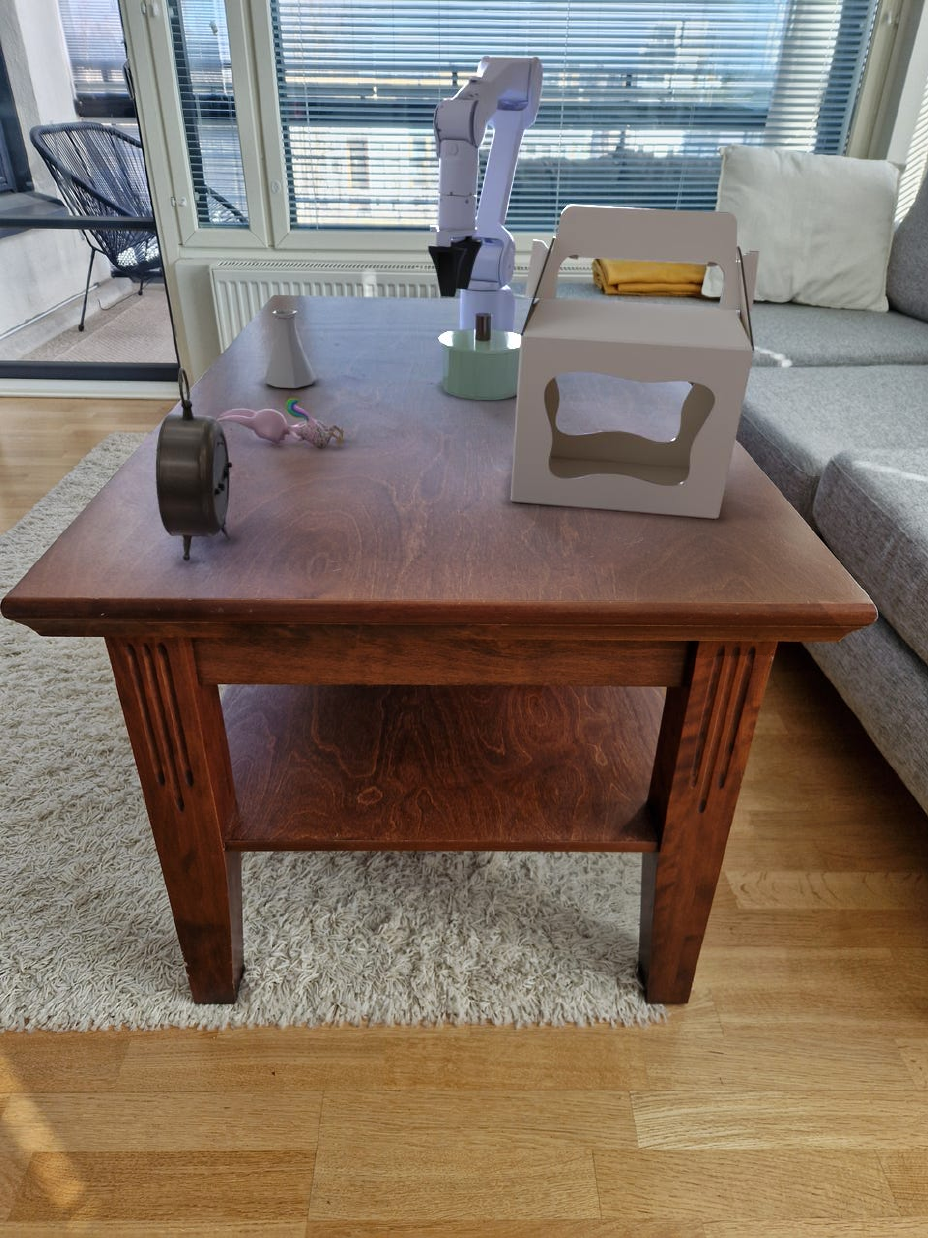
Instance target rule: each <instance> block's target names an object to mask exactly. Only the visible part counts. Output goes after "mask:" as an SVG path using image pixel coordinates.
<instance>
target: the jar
mask: <svg viewBox="0 0 928 1238" xmlns="http://www.w3.org/2000/svg"><path fill="white" fill-rule="evenodd" d="M519 355H520V350H519V351H515V352H511V353H504V354H472V353H464V352H458V351H454V350H450V349H448V348H445V347H443V346H442V390H443V391H444V392H445V393H447V394H449V395H451V396H454V397H457V398H461V399H467V400H473V401H474V400H475V401H498V400H504V399H506V400H507V399H510V398H513V397H517V387H518V371H519Z"/></svg>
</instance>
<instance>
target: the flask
mask: <svg viewBox="0 0 928 1238" xmlns="http://www.w3.org/2000/svg"><path fill="white" fill-rule="evenodd" d="M271 313H272V317H274V320H275V321H274V322H275V333H274V342H273V345H272V350H271V354H270V359H269V362H268V366H267V369H266V372H265V377H264V381H263V383H264V384H267V385H270V386H273V387H274V388H285V389H286V388H287V389H296V388H298V389H299V388H301V387H306V386H309V385H310V386H311V385H312V384H313V383H314V382H315V381H316V380H317V377H316V375H315V372H314V370H313V368H312V366H311V363H310V362H309V359H308V357H307V356H306V353H305V350H304V348H303V345H302V343H301V340H300V338H299V334H298V330H297V325H296V317H297V314H298V312H297V310H293V309H283V308H282V309H277V310H274V311H272V312H271Z"/></svg>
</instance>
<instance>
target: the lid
mask: <svg viewBox="0 0 928 1238" xmlns="http://www.w3.org/2000/svg"><path fill="white" fill-rule="evenodd" d="M520 339H521V334H517V333H514V332H513V333H511V332H507V331H501V330H493V329H492V314H489V313H477V314H475V329H462V330H460V329H456V330H455V329H454V330H450V331H447V332H444V333H442V334H440V336H439V337H438V344H439V345H440V346H441V347H442V348H443V347H445V348H448V349H450V350H454V351H458V352H464V353H472V354H504V353H511V352H515V351H519V350H520Z"/></svg>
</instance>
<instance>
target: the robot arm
mask: <svg viewBox="0 0 928 1238" xmlns="http://www.w3.org/2000/svg"><path fill="white" fill-rule="evenodd" d="M543 83H544V69H543V63H542V61H541V60H540V58H539V57H538V56H533V57H499V56H498V57H497V56H496V57H494V56H493V57H492V56H489V55H484V56H482V58H481V59H480V61H479V63H478V67H477V71H476V75H475V76H474V75H472V76H469V78H468V81H467V82H466V83H465V84H464V85H463V87H462V88H461V89H460V90H459V91H458V92H457V93H456V95H454V97H452V98H444V99H442V101H441V102H439V103H437V105H436V107H435V109H434V112H433V113H434V115H433V121H432V125H433V126H432V128H433V136H434V141H435V154H436V155H435V157H436V158H437V159H438V193H437V194H438V203H437V225H430V226H429V232H434V233H436V234H435V237H436V238H435V241H436V243H429V244H428V245H427V251H428V254H429V255H430V258H431V260H432V263H433V265H434V269H435V272H436V273H435V274H436V278H437V285H438V290H439V294H440V296H441V297H446V298H447V297H448V298H455V297H456V294H457V290H460V304H459V305H460V306H459V307H460V309H459V316H460V317H459V330H462V329H475V314H477V313H489V314H492V329H493V330H501V331H507V332H511V333H514V328H515V310H516V299H515V295H514V293H513V290H512V289H511V288H510V287H509V284H510V283H511V282H512V279H513V277H514V272H515V264H516V263H515V262H516V261H515V259H516V251H517V248H516V243H515V239H514V237H513V235H511V233H510V232H509V231H508V230H507V229H505V223H506V219H507V213H508V208H509V205H510V204H509V203H510V198H511V194H512V190H513V189H512V188H513V184H514V178H515V174H516V170H517V165H518V159H519V155H520V149H521V147H522V142H523V139H524V135H525V131H526V129H529V127H531V126H532V125H534V124H535V123H536V118H537V115H538V114H539V108H540V104H541V103H540V102H541V98H542V94H543ZM489 126H490V127H491V128H492V131H493V135H492V141H491V146H490V150H489V154H488V155H489V156H488V160H487V165H486V169H485V174H484V178H483V179H484V180H483V184H482V189H481V194H480V199H479V204H478V201H477V200H478V183H479V182H478V181H479V176H478V175H479V160H480V159H479V158H480V157H479V156H480V147H482V146H483V144H484V141H485V138H486V132H487V130H488V127H489ZM477 205H478V208H477Z"/></svg>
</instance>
